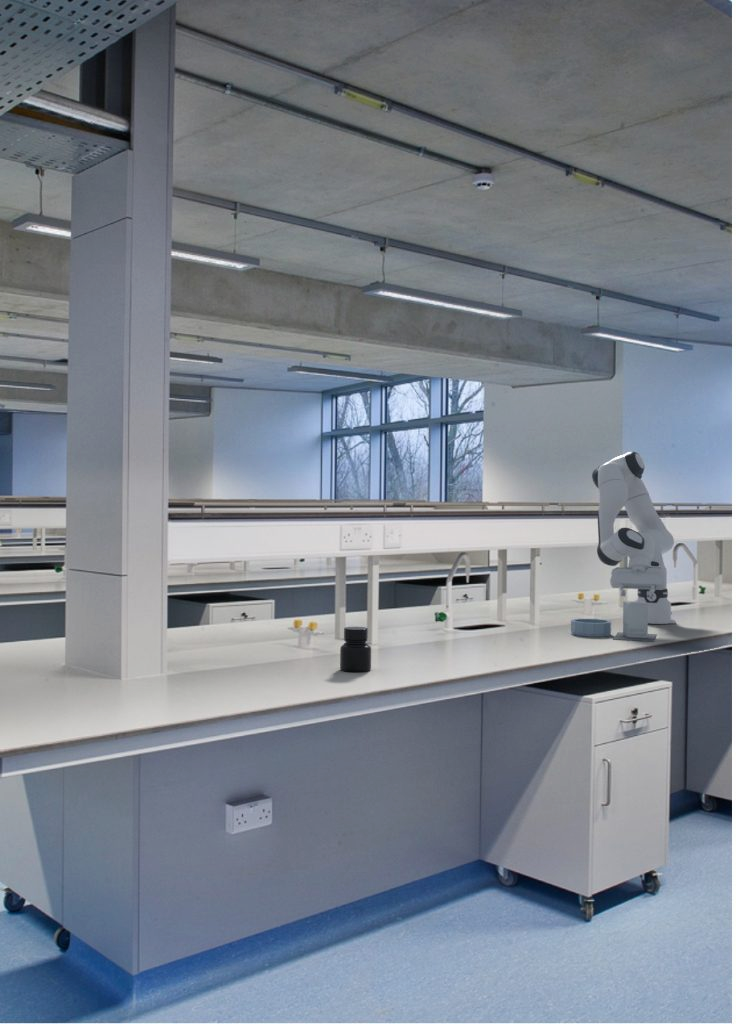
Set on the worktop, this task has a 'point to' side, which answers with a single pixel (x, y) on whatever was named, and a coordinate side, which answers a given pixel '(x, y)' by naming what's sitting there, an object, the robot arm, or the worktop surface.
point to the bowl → (591, 627)
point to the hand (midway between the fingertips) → (635, 595)
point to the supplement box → (635, 619)
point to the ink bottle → (355, 650)
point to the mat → (621, 637)
